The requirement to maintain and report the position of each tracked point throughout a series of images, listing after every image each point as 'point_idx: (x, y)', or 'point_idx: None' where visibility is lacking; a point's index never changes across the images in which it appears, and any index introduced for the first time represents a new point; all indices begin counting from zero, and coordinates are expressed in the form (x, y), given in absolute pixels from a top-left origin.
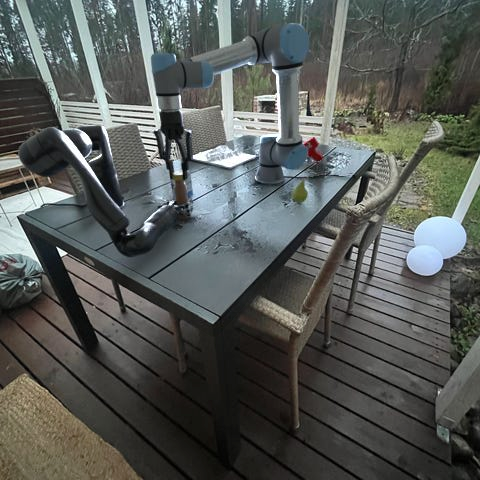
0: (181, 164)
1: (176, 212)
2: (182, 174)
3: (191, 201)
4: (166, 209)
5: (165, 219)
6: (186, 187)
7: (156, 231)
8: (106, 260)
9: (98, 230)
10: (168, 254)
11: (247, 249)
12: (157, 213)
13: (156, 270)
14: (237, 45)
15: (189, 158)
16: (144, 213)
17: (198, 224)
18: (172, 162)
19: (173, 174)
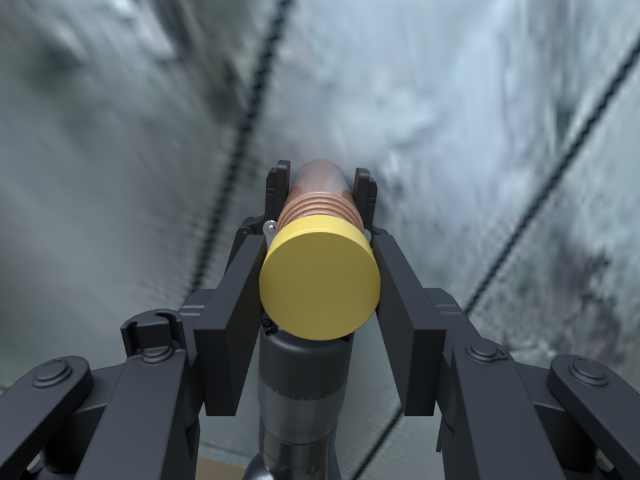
0: (401, 397)
1: (350, 348)
2: (372, 311)
3: (374, 200)
4: (317, 391)
5: (335, 419)
6: (360, 216)
7: (331, 466)
8: (208, 453)
9: (53, 341)
10: (360, 410)
11: (598, 355)
12: (297, 428)
13: (356, 462)
14: None
15: (573, 472)
16: (119, 188)
17: (404, 239)
18: (234, 322)
19: (290, 331)
